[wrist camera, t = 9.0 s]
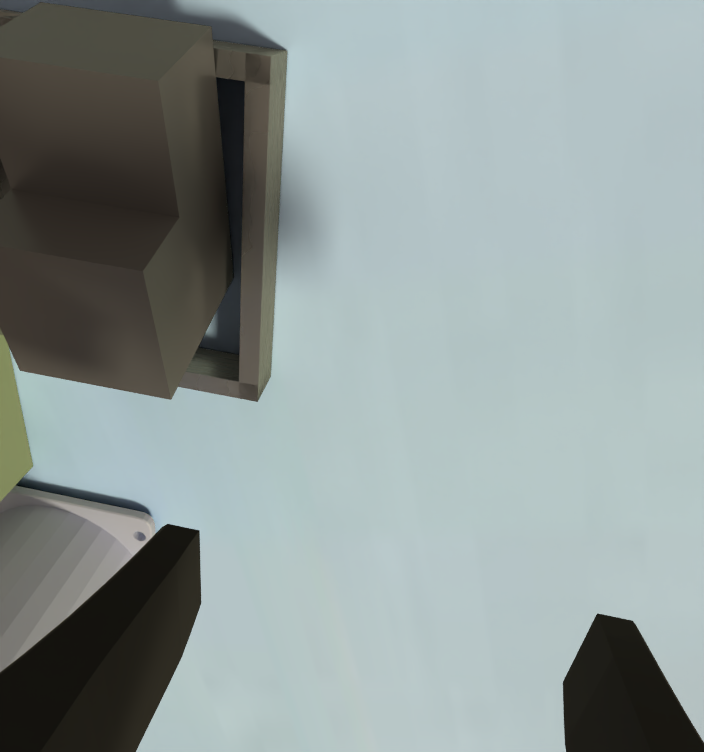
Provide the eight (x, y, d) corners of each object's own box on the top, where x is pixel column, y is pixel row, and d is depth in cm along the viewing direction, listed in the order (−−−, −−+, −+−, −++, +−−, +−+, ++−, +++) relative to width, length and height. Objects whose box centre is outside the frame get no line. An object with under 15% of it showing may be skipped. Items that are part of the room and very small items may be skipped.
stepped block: (233, 277, 19) (171, 399, 16) (107, 254, 20) (20, 370, 16) (211, 26, 14) (111, 128, 11) (40, 2, 14) (-109, 94, 11)
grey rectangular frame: (270, 376, 21) (257, 401, 20) (4, 326, 22) (-25, 348, 20) (287, 50, 16) (271, 56, 14) (-63, 0, 16) (-109, 1, 15)
